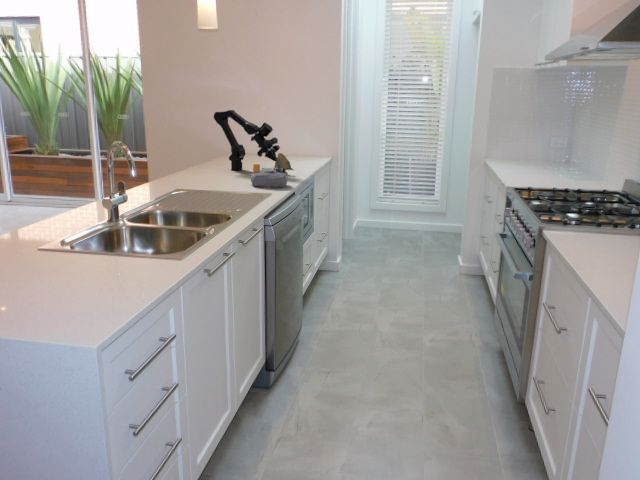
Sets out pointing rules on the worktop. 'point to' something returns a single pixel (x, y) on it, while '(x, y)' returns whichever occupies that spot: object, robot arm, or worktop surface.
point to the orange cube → (256, 167)
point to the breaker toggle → (279, 164)
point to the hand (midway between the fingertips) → (276, 161)
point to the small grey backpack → (269, 179)
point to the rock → (283, 161)
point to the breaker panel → (273, 170)
